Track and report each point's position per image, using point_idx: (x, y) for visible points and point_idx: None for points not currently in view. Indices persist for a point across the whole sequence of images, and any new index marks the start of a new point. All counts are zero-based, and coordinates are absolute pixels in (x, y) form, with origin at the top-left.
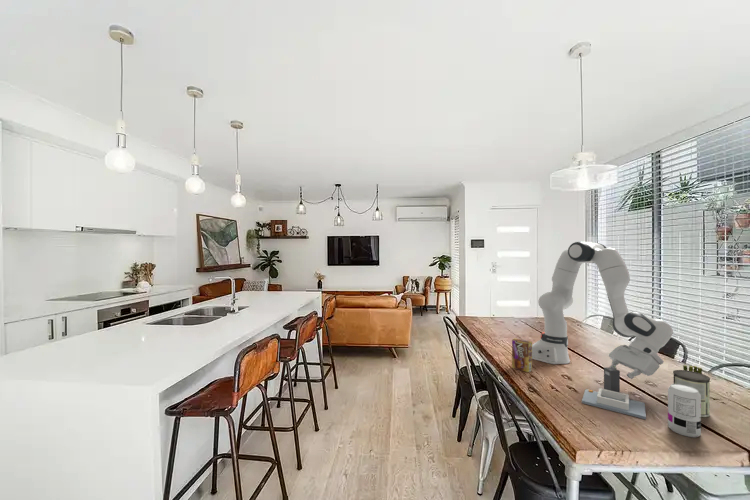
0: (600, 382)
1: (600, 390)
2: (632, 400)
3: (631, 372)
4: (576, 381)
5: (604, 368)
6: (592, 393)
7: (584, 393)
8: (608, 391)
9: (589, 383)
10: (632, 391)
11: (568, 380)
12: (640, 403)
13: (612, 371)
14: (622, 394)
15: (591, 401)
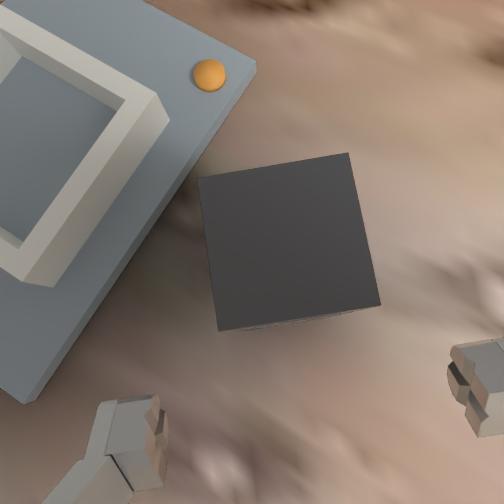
0: (496, 301)
1: (103, 78)
2: (62, 325)
3: (96, 469)
4: (469, 92)
5: (334, 159)
6: (172, 73)
7: (167, 16)
8: (97, 143)
9: (444, 183)
10: (317, 494)
11: (478, 35)
12: (8, 355)
13: (204, 208)
14: (34, 229)
15: (33, 4)
